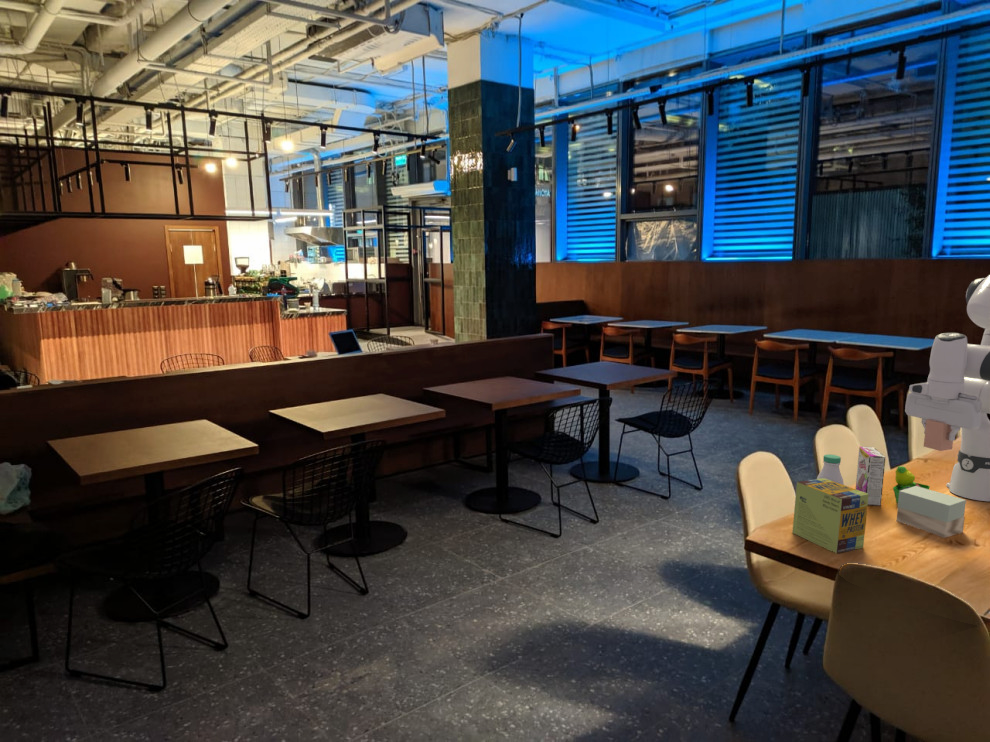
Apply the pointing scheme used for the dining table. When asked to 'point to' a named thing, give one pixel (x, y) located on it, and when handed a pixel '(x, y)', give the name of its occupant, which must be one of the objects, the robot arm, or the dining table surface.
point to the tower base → (930, 523)
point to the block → (937, 435)
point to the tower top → (931, 503)
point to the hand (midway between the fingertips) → (939, 437)
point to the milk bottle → (831, 469)
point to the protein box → (830, 514)
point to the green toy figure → (905, 481)
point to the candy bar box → (870, 474)
